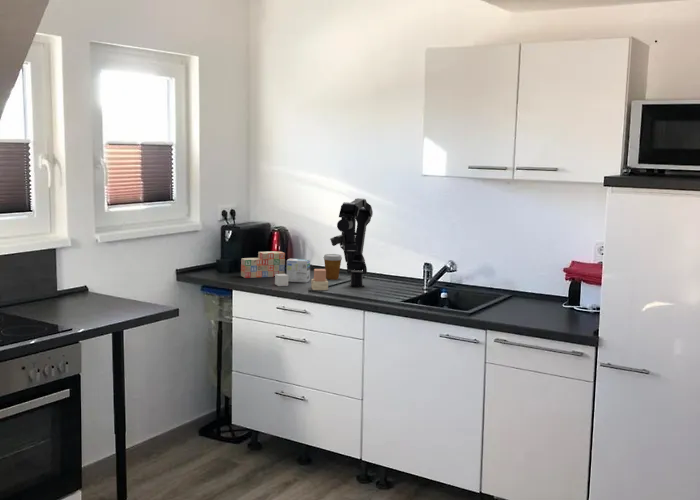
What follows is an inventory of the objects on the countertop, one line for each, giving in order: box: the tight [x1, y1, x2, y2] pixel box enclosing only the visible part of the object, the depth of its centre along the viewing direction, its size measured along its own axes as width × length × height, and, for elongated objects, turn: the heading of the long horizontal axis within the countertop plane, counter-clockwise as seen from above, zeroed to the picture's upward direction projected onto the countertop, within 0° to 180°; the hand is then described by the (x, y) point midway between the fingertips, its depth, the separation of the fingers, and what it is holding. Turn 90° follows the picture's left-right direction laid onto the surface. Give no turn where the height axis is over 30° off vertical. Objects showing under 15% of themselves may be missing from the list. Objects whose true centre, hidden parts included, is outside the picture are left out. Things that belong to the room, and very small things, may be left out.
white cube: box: [274, 273, 289, 287], centre depth 366 cm, size 5×5×5 cm
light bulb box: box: [285, 258, 311, 283], centre depth 378 cm, size 11×7×11 cm, turn 80°
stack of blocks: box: [240, 250, 286, 279], centre depth 389 cm, size 21×6×12 cm, turn 116°
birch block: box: [310, 278, 329, 291], centre depth 359 cm, size 7×7×4 cm
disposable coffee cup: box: [323, 253, 343, 281], centre depth 388 cm, size 10×10×12 cm
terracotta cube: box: [313, 268, 326, 281], centre depth 359 cm, size 5×5×5 cm
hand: (348, 263), depth 354 cm, fingers open, 9 cm apart
